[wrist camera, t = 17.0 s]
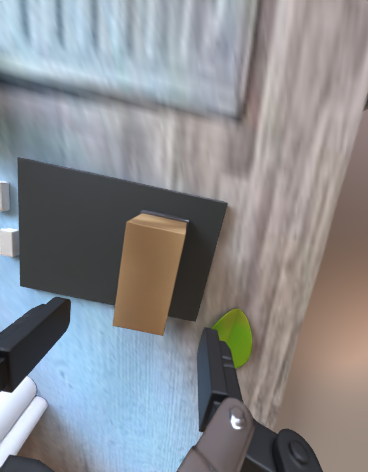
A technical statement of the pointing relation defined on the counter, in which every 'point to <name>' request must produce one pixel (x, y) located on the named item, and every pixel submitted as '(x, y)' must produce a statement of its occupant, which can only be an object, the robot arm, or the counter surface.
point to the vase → (18, 417)
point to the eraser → (149, 271)
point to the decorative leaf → (236, 335)
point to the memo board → (104, 233)
